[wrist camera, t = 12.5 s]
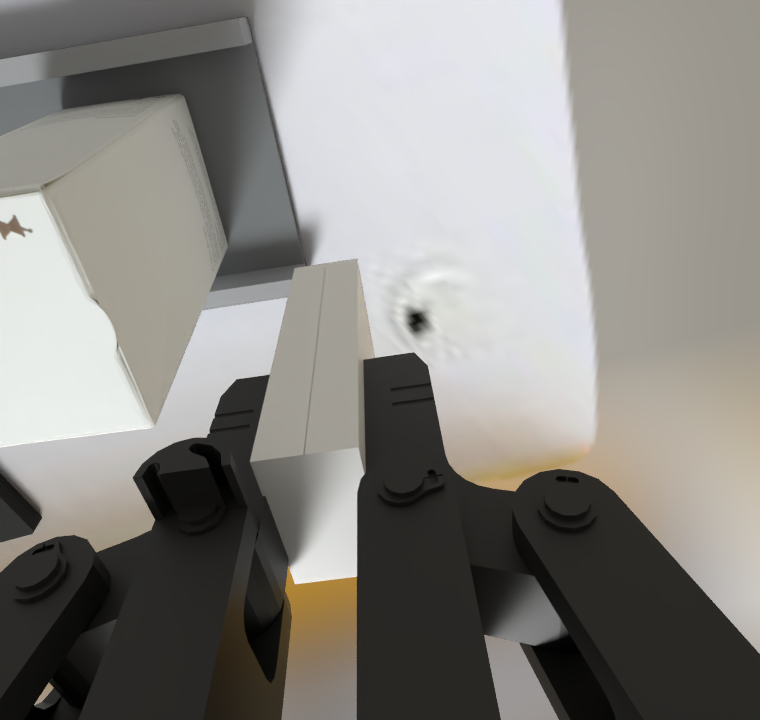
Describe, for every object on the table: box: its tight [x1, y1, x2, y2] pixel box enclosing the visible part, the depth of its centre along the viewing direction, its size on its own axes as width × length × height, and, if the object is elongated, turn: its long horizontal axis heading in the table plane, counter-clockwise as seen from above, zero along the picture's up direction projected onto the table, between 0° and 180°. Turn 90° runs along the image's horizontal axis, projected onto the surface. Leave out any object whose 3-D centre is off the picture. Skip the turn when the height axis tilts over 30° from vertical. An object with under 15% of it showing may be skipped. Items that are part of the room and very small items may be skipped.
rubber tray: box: [0, 17, 306, 310], centre depth 28 cm, size 22×13×2 cm, turn 98°
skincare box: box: [0, 94, 228, 447], centre depth 22 cm, size 8×7×16 cm
